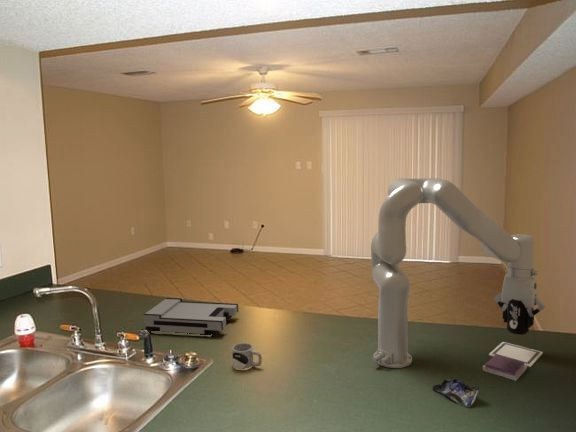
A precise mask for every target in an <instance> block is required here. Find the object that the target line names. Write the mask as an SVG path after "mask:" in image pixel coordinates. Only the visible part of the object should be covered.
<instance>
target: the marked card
mask: <svg viewBox="0 0 576 432" xmlns="http://www.w3.org/2000/svg"><path fill="white" fill-rule="evenodd" d="M543 353H544V351H540V350H536V349H532V348H528V347H525V346H521V345H516V344H512V343H509V342H505V341H502V342H501V343H499V345H497V346H496V347H495V348H494V349H493V350H492V351H491V352H489V353H488V356H491V357H494V356H495V355H499V356H503V357H506V358H510V359H513V360H517V361H521V362H524V363H525V364H524V365H527V367H529V368H531V367H532V366H533V365H534V364H535V363H536V362H537V361H538V359H540V357H541V356H542V355H543Z"/></svg>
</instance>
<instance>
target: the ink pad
mask: <svg viewBox="0 0 576 432" xmlns="http://www.w3.org/2000/svg"><path fill="white" fill-rule="evenodd" d="M524 364H525V363H524V362H521V361H517V360H513V359H510V358H506V357H503V356H499V355H495V356H491V358H490V359H488V361H487V362H486V363H485V364H484V365H483V366H482V371H484V372H486V373H490V374H493V375H496V376H500V377H503V378H506V379H509V380H513V381H515V382H516V381H518V380H519V378H520V377H521V376H522V375H523V374H524V373H525V372H526V370H527V369H528V366H527V365H524Z"/></svg>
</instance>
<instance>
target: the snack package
mask: <svg viewBox="0 0 576 432" xmlns="http://www.w3.org/2000/svg"><path fill="white" fill-rule="evenodd" d="M431 389H432V391H435V392H438V393H441V394H442V395H444V396H446V397H448V398H450V399H451V400H452V401H454V402H456V403H457V404H459V405H461V403H460V402H459V401H458V400H457V399H456V397H455V396H453V395H456V396H458V397H459V398H460V399H461V401H462V403H463V406H464V407H467V408H470V407H472V405H473V404H474V402H475V401H476V398H477V395H478V394H479V390H480V386H478V385H477V386H472V385H470V384H468V383H467V382H465V381H464V380H460V379H445V380H443V381H442V383H441V384H436V385H432V388H431Z"/></svg>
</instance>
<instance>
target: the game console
mask: <svg viewBox="0 0 576 432" xmlns="http://www.w3.org/2000/svg"><path fill="white" fill-rule="evenodd" d="M238 313H239V303H228V302H225V303H224V302H209V301H208V302H207V301H206V302H205V301H203V302H202V301H185V300H183V298H182V297H181V298H177V297H176V298H175V297H166V298H165V299H164V300H162V301H161V302H159V303H158V304H156V305H155V306H154V307H152V308H151V309H150V310H148V311H146V312H145V313H143V314H142V318H143V319H142V320H143V327H145V330H146V331H150V332H151V331H162V332H175V333H187V334H188V333H189V334H200V335H211V334H213V335H218V333H219V332H220V331H223V330H224V329H225V328H226V326H227V322H229V320H230V319H231V318H232V317H235V316H236V315H237V314H238Z"/></svg>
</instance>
